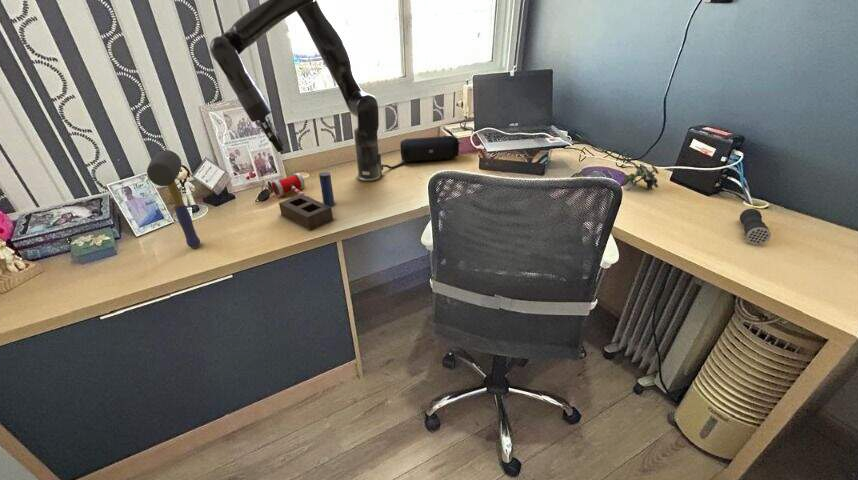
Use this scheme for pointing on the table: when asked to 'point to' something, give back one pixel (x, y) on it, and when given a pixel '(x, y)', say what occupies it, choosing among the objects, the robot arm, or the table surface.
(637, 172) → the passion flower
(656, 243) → the table surface
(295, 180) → the toy hammer
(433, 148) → the portable speaker
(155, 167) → the rubber mallet
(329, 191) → the handle
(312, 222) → the holder
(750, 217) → the flashlight
